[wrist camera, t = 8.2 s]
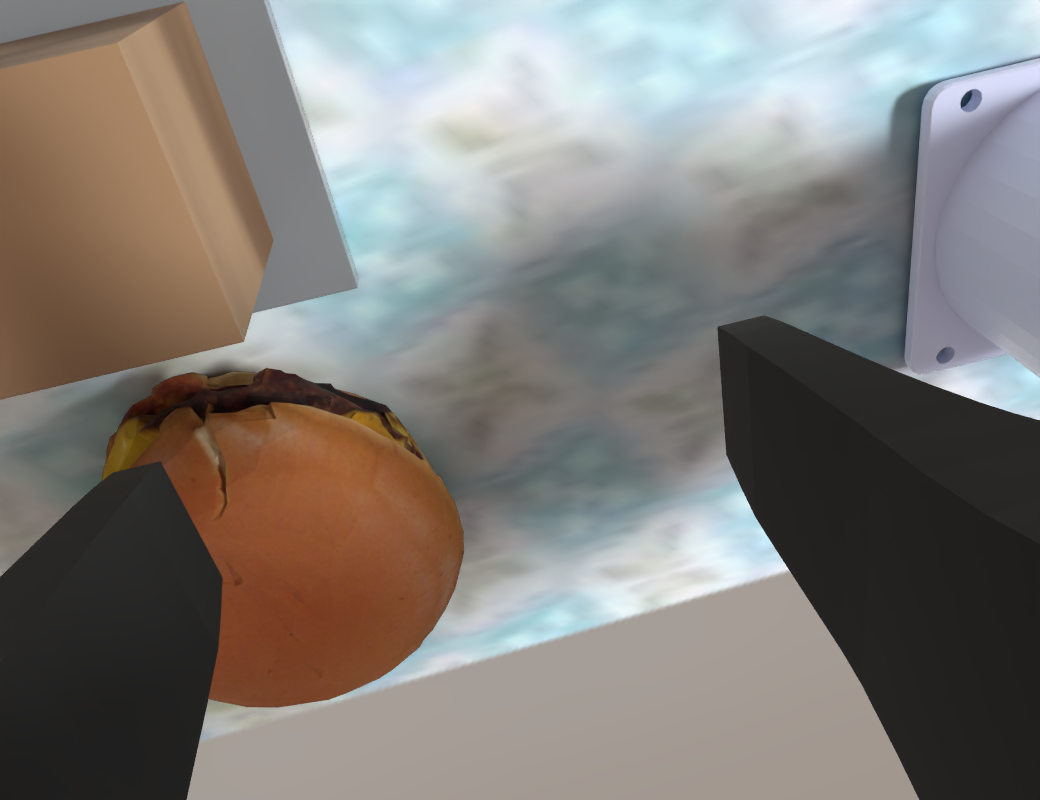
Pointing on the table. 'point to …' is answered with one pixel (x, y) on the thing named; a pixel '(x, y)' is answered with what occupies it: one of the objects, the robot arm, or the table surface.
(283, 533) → the burger
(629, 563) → the table surface
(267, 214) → the slate coaster
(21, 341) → the walnut cube
